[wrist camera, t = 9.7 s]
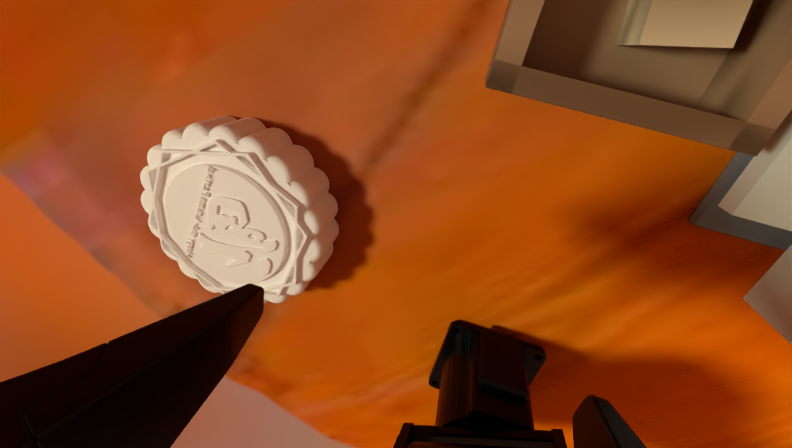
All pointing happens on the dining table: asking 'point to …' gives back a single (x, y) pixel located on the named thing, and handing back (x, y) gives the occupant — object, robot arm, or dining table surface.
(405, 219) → the dining table surface
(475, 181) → the dining table surface
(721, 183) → the mat
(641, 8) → the block
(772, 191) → the lid
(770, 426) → the dining table surface
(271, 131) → the mooncake
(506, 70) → the tub
